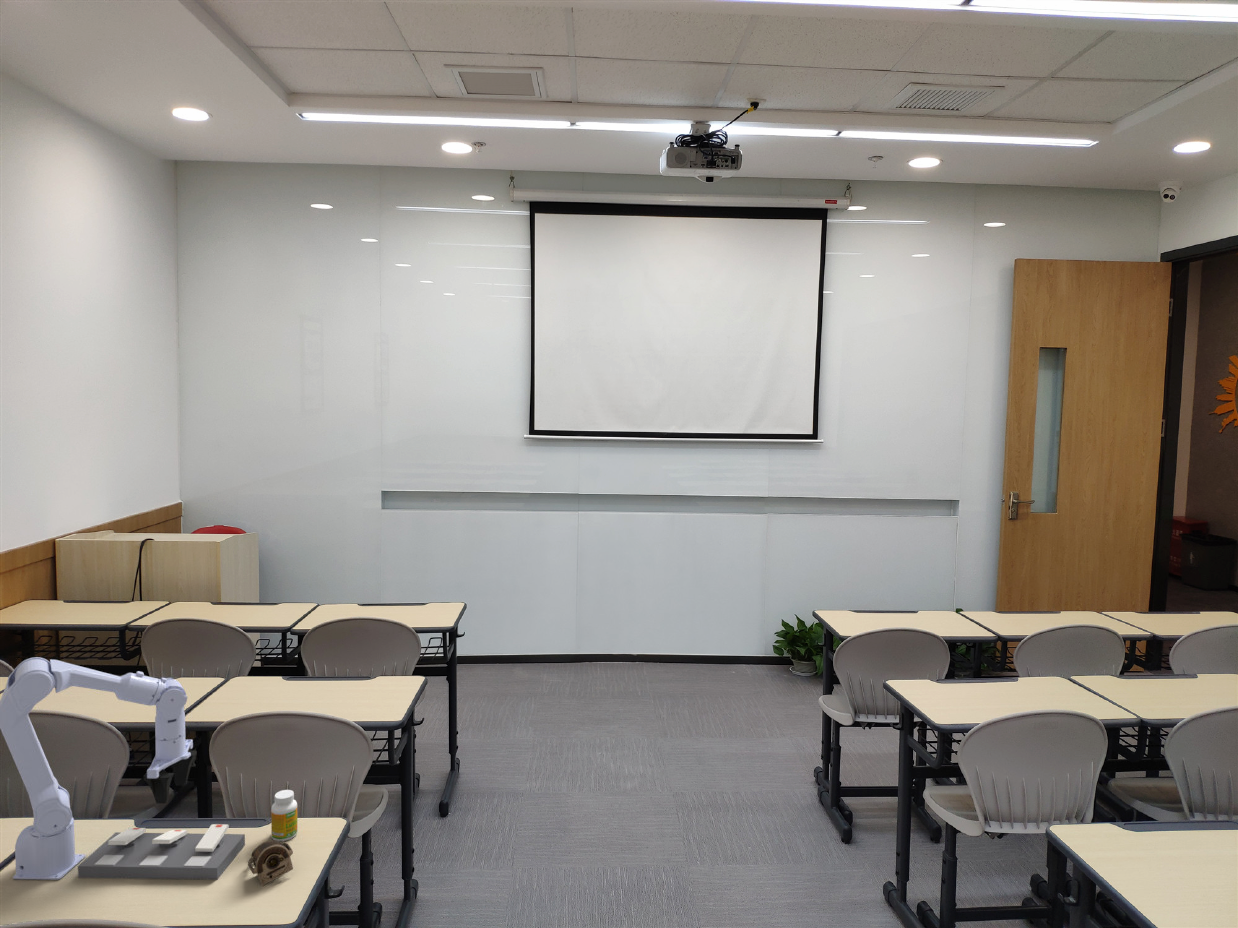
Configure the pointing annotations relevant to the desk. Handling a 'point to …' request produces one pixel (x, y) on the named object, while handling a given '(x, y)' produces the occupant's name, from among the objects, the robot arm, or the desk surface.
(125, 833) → the rocker left
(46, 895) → the desk surface
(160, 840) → the rocker middle
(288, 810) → the supplement bottle
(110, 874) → the rocker switch panel
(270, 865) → the mechanical counter
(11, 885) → the desk surface
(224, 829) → the rocker right
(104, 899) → the desk surface
